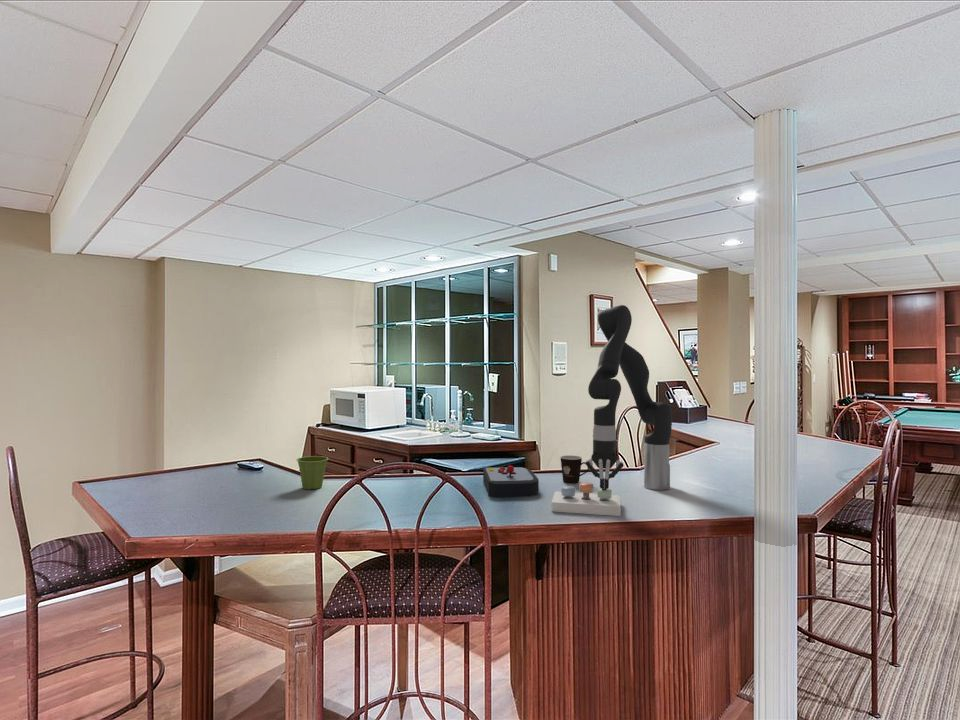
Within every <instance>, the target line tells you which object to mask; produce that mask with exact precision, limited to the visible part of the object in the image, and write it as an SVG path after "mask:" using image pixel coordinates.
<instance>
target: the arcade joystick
mask: <svg viewBox="0 0 960 720" xmlns="http://www.w3.org/2000/svg"><path fill="white" fill-rule="evenodd" d="M482 470H483V471H482V477H483V478H482V481H483V483H484V487H485V491H486V493H487V495H488V496H487V497H489V498H494V499H495V498H496V499H497V498H499V499H500V498H525V497H527V498H529V497H535V496H537V495H538V494H539V490H540V489H539V487H540V486H539V478H538V477H537V475H536V474H535V473H534V472H533V470H531V469H529V468H527V467H522V466H521V467H520V466H517V467H514V466H513V465H508V466H507V467H504V466H501V467H483V469H482Z"/></svg>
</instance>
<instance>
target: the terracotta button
mask: <svg viewBox="0 0 960 720" xmlns="http://www.w3.org/2000/svg"><path fill="white" fill-rule="evenodd" d="M578 484H579V485H578V487H579V490H578V491H579V493H583V500H589V494H593V492H594V484H593V482H592V483H591V482H579V483H578Z"/></svg>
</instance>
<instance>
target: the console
mask: <svg viewBox="0 0 960 720" xmlns="http://www.w3.org/2000/svg"><path fill="white" fill-rule="evenodd" d="M621 511H622V510H621V500H620V495H618V494H612V498H610V499H608V501H601V498H598V497H597V493H589V500H583V493H582V492H575V496H571V499H565V496H562V495H561V491H554V494H553V497H552V500H551V512H555V513H556V512H558V513H571V514H572V513H573V514H588V515H598V516H599V515H603V516H615V517H616V516H617V517H621V514H622V513H621Z"/></svg>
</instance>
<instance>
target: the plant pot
mask: <svg viewBox="0 0 960 720" xmlns="http://www.w3.org/2000/svg"><path fill="white" fill-rule="evenodd" d="M328 461H329V457H328V456H322V455H311V456H309V455H308V456H301V457H297V458H296V462H297V463H298V468H299V472H300V473H299V474H300V479H301V488H302V489H304V490H312V489H313V490H318V489H321V488H322V487H323V483H324V478H325V471H326V468H327V467H326V466H327V463H328Z"/></svg>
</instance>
